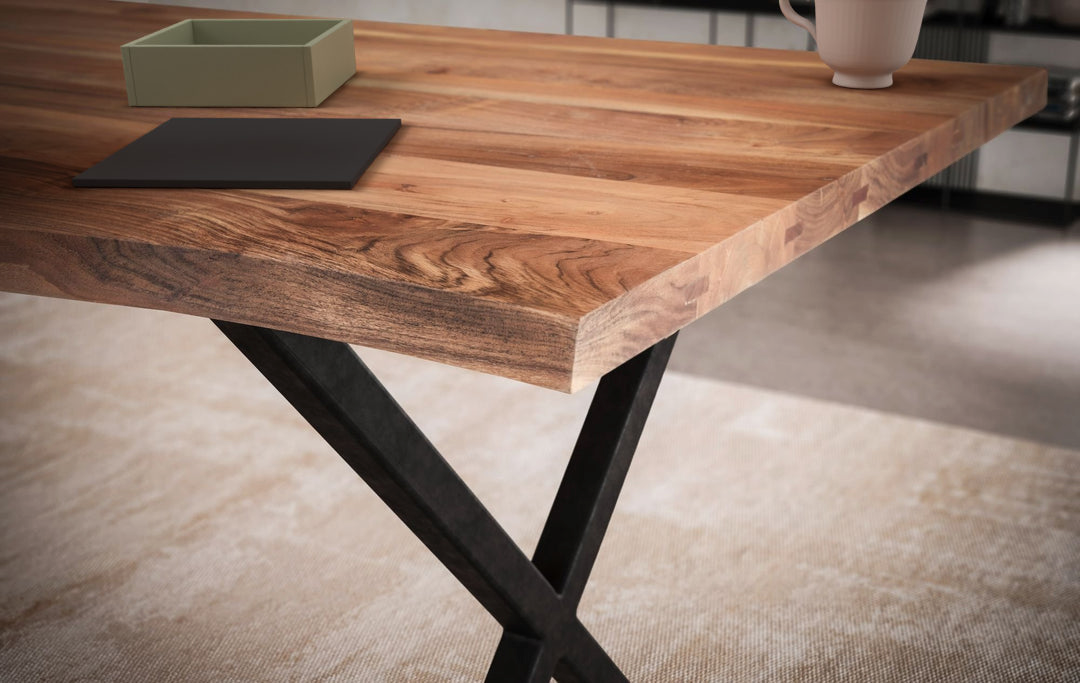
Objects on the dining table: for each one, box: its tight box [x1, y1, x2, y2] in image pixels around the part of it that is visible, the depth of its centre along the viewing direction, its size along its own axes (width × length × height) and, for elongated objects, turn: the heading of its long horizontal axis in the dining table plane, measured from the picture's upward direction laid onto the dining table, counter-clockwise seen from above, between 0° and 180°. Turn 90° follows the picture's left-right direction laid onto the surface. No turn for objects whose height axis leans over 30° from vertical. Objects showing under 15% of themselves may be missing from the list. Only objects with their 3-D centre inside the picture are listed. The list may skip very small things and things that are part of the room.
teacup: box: [778, 0, 928, 90], centre depth 113 cm, size 12×15×10 cm
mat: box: [71, 117, 403, 190], centre depth 91 cm, size 20×20×1 cm
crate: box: [120, 18, 357, 108], centre depth 114 cm, size 18×18×6 cm
